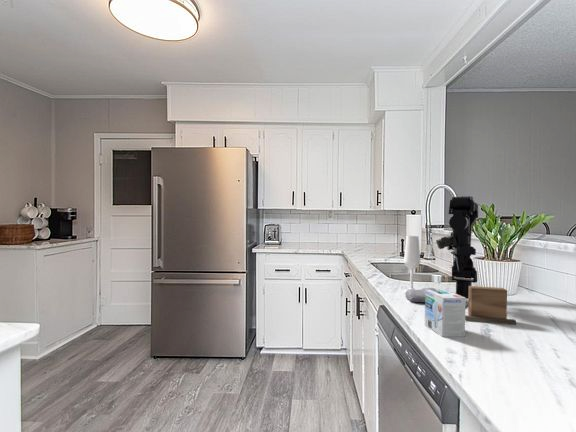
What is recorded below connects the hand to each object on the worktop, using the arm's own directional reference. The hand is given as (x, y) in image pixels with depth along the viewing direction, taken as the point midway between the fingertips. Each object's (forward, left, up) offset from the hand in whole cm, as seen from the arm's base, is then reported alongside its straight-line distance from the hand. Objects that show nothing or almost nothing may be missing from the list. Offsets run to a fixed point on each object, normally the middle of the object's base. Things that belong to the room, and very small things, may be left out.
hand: (460, 271), depth 132 cm
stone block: (+8, -10, -12) cm, 17 cm away
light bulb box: (+36, +10, -12) cm, 39 cm away
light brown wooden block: (+14, +14, -12) cm, 23 cm away
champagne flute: (-3, -21, -12) cm, 24 cm away
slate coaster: (+3, -1, -12) cm, 12 cm away
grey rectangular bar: (+16, +16, -12) cm, 26 cm away
